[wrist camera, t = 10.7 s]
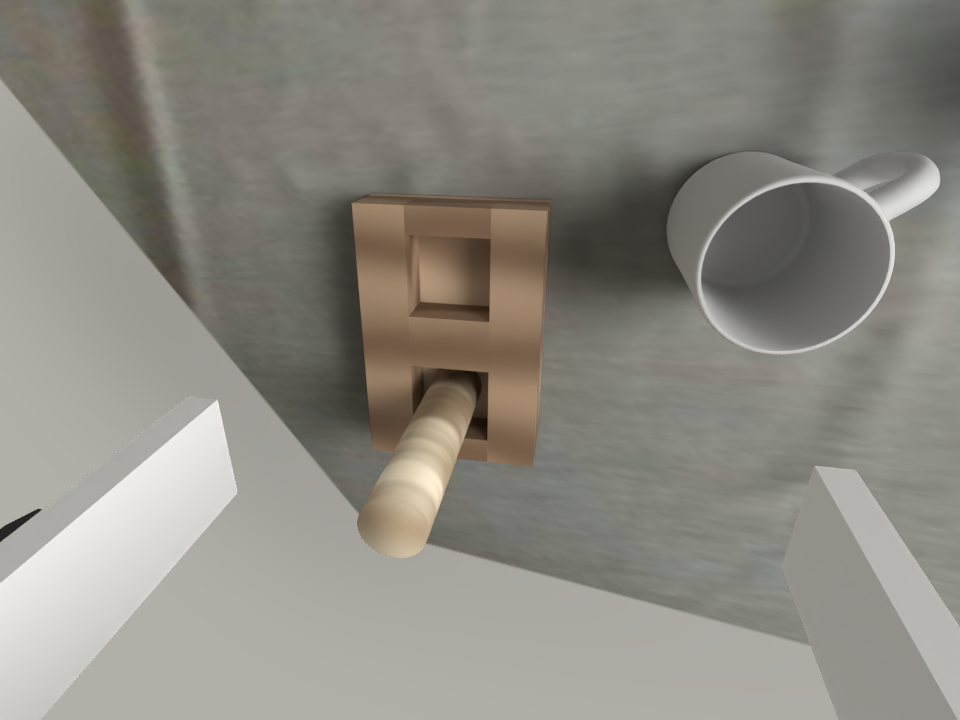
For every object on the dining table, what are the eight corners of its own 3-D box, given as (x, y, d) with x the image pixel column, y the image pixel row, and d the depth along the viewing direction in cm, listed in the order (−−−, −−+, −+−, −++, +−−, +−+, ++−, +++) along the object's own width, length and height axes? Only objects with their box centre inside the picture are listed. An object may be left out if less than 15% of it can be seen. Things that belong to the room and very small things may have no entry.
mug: (703, 311, 39) (741, 386, 29) (641, 202, 36) (659, 242, 27) (896, 213, 34) (1019, 261, 24) (838, 82, 32) (948, 77, 22)
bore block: (373, 192, 39) (351, 203, 35) (551, 199, 37) (546, 211, 34) (388, 421, 47) (372, 449, 43) (537, 436, 45) (532, 466, 41)
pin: (433, 360, 42) (354, 496, 28) (482, 364, 42) (426, 505, 28) (435, 403, 44) (360, 552, 30) (481, 407, 43) (428, 562, 29)
